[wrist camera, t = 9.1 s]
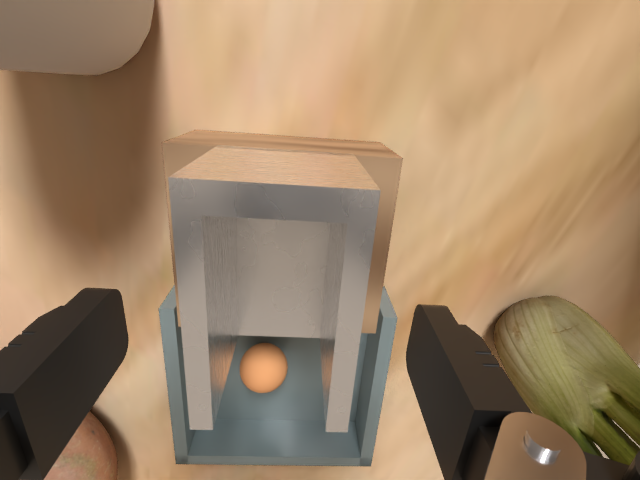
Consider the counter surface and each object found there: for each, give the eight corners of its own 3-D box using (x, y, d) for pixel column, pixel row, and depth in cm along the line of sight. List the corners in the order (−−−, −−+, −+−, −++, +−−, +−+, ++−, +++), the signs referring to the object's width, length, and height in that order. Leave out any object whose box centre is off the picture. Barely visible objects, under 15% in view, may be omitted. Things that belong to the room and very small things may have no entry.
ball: (249, 336, 22) (231, 387, 21) (296, 351, 22) (280, 402, 21) (249, 336, 25) (233, 382, 24) (291, 350, 25) (276, 395, 24)
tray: (179, 277, 23) (158, 308, 20) (384, 286, 24) (397, 317, 20) (191, 419, 27) (176, 463, 24) (363, 422, 28) (370, 466, 25)
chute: (218, 144, 15) (168, 177, 10) (353, 153, 15) (380, 190, 10) (224, 327, 18) (189, 429, 13) (334, 331, 19) (347, 432, 13)
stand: (195, 129, 20) (161, 142, 15) (380, 142, 20) (402, 158, 16) (203, 278, 23) (178, 326, 18) (361, 285, 24) (375, 333, 19)
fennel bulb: (496, 362, 26) (633, 559, 15) (466, 316, 25) (597, 499, 14) (572, 322, 25) (779, 503, 14) (546, 271, 24) (758, 430, 13)
